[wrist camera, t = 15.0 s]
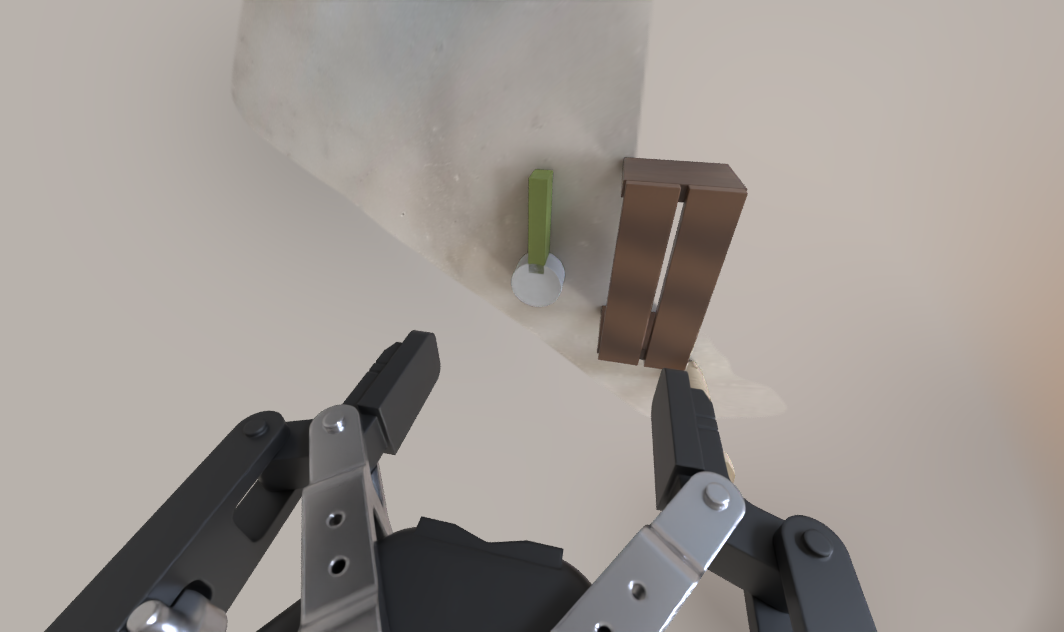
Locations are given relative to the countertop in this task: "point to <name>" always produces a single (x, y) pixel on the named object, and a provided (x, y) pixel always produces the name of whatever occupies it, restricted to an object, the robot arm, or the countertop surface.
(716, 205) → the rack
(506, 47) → the countertop surface
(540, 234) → the green handled white cylinder
